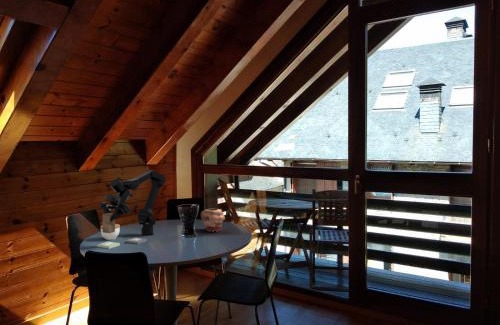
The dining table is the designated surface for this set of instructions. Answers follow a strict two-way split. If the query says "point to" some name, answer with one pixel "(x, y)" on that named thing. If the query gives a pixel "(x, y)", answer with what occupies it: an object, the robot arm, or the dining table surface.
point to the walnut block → (108, 223)
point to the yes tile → (108, 245)
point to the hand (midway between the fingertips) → (106, 220)
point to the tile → (136, 240)
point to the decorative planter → (212, 219)
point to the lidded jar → (111, 235)
